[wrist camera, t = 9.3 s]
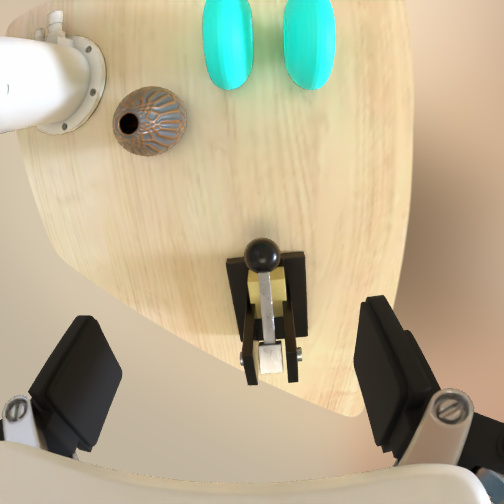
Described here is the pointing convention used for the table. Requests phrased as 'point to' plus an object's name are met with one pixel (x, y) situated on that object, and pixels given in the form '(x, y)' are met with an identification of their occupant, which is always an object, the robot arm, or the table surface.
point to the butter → (276, 289)
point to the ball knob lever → (266, 300)
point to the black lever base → (285, 325)
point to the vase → (149, 121)
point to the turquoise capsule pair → (294, 38)
